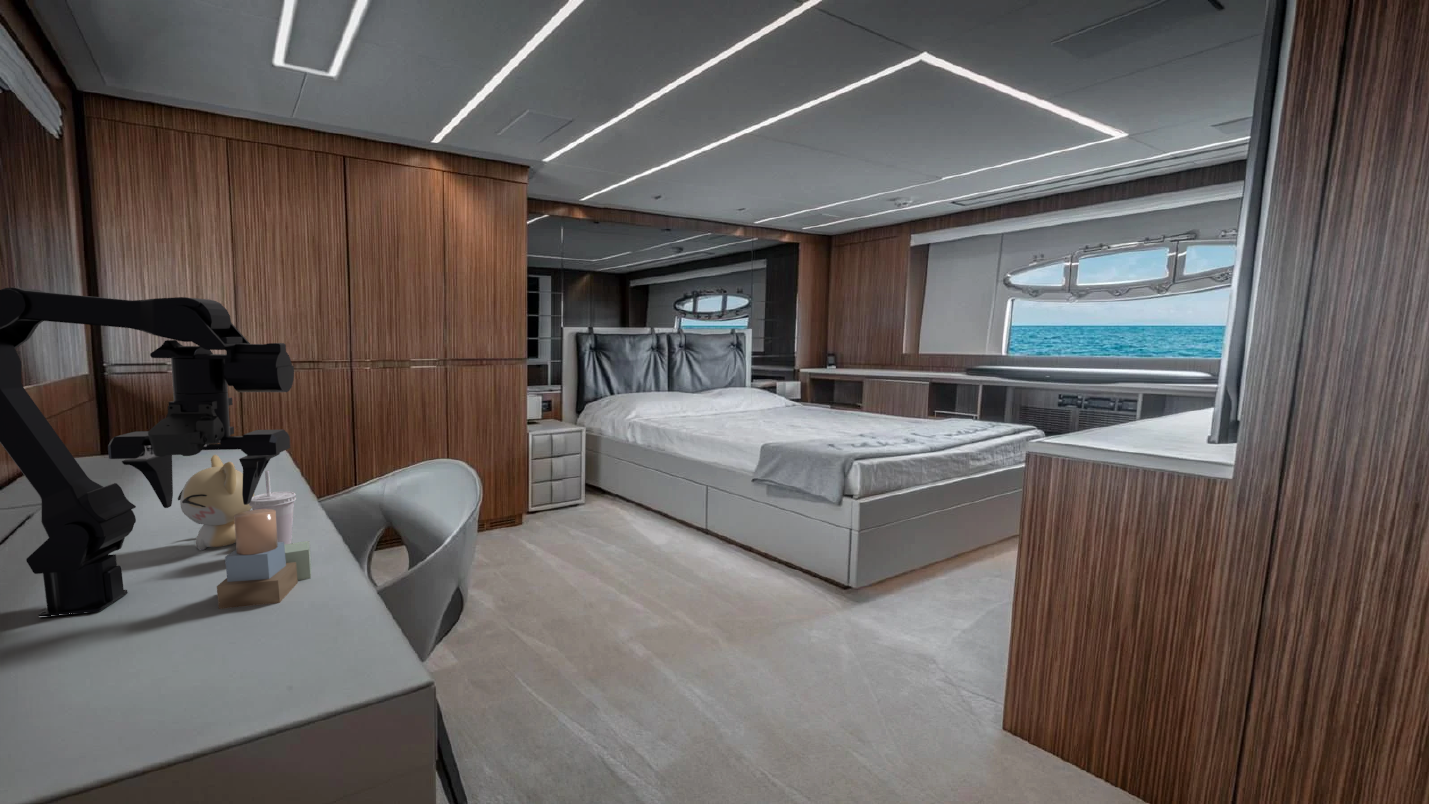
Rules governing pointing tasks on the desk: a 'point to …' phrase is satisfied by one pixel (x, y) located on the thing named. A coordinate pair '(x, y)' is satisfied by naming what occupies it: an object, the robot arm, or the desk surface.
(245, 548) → the clay cylinder
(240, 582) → the tower base
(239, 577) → the tower mid
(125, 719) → the desk surface
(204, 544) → the kitten
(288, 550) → the block
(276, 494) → the smoothie
